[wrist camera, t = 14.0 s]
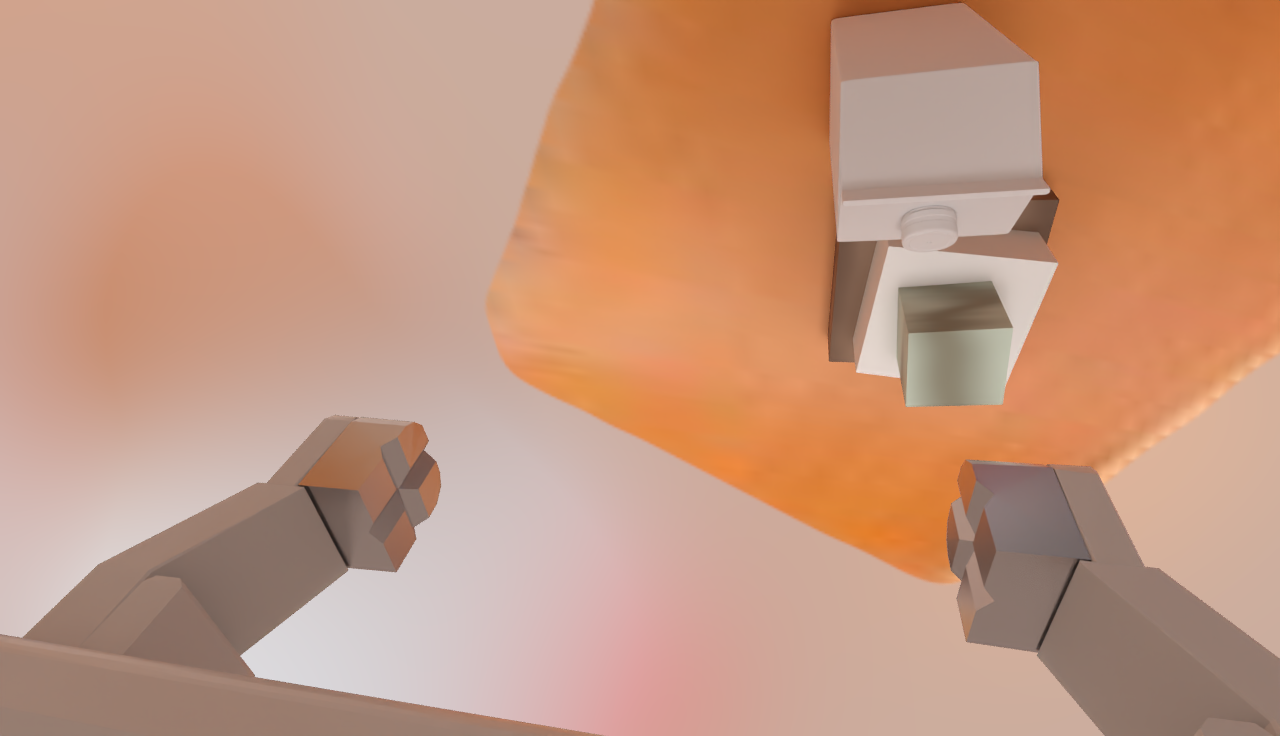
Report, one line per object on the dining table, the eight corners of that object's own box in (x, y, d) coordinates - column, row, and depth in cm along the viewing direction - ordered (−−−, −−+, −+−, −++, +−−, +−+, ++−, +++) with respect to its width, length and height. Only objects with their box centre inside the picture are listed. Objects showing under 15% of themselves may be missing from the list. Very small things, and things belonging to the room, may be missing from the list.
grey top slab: (1038, 232, 40) (1058, 263, 37) (989, 355, 45) (1002, 391, 42) (882, 217, 41) (888, 246, 38) (852, 338, 47) (855, 372, 43)
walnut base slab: (1040, 175, 42) (1059, 199, 39) (998, 336, 49) (1011, 368, 45) (840, 179, 44) (843, 202, 41) (827, 331, 51) (829, 361, 48)
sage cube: (991, 280, 38) (1013, 327, 34) (983, 353, 41) (1002, 404, 37) (898, 287, 39) (908, 333, 35) (896, 357, 42) (905, 406, 38)
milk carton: (830, 18, 39) (845, 108, 24) (964, 1, 37) (1072, 86, 22) (829, 141, 43) (840, 285, 28) (950, 131, 41) (1032, 279, 26)
